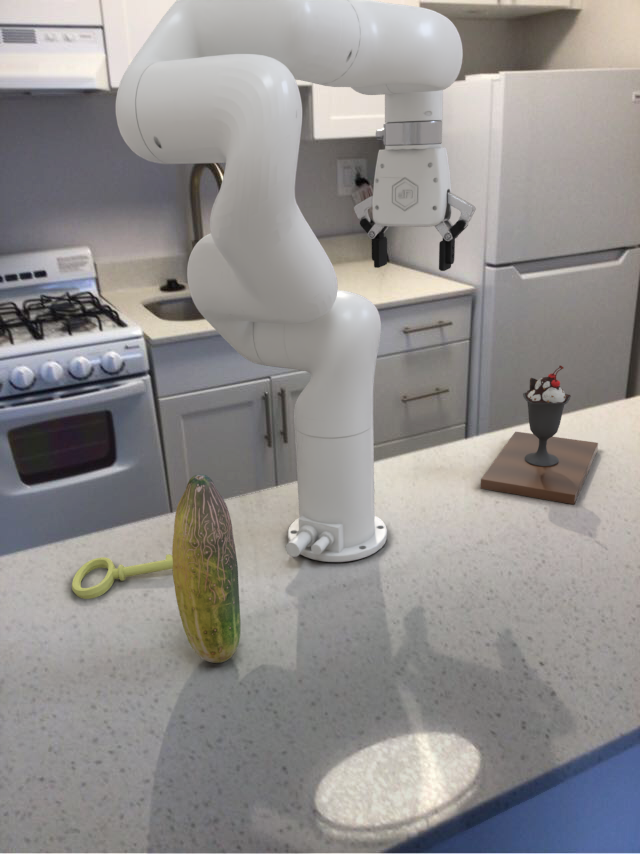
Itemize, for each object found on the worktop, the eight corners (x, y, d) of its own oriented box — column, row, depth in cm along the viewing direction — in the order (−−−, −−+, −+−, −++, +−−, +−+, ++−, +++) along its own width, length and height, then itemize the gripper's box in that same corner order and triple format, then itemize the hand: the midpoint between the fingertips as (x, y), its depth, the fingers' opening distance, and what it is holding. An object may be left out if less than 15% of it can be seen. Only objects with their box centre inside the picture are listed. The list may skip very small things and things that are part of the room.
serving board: (574, 504, 103) (575, 494, 102) (480, 488, 108) (480, 478, 108) (597, 451, 119) (598, 442, 118) (514, 439, 125) (515, 431, 124)
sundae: (567, 470, 109) (576, 370, 104) (519, 467, 111) (526, 369, 105) (563, 452, 115) (571, 357, 110) (517, 450, 117) (523, 356, 111)
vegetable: (174, 672, 73) (150, 485, 66) (195, 633, 79) (174, 457, 72) (234, 677, 72) (216, 488, 65) (251, 637, 78) (236, 459, 71)
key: (182, 575, 90) (180, 559, 89) (76, 604, 85) (73, 588, 84) (167, 548, 96) (165, 533, 95) (67, 574, 91) (64, 558, 90)
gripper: (342, 140, 101) (345, 269, 107) (468, 135, 93) (463, 275, 99) (365, 139, 107) (367, 261, 113) (485, 134, 99) (480, 266, 105)
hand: (412, 267), depth 106 cm, fingers open, 9 cm apart
